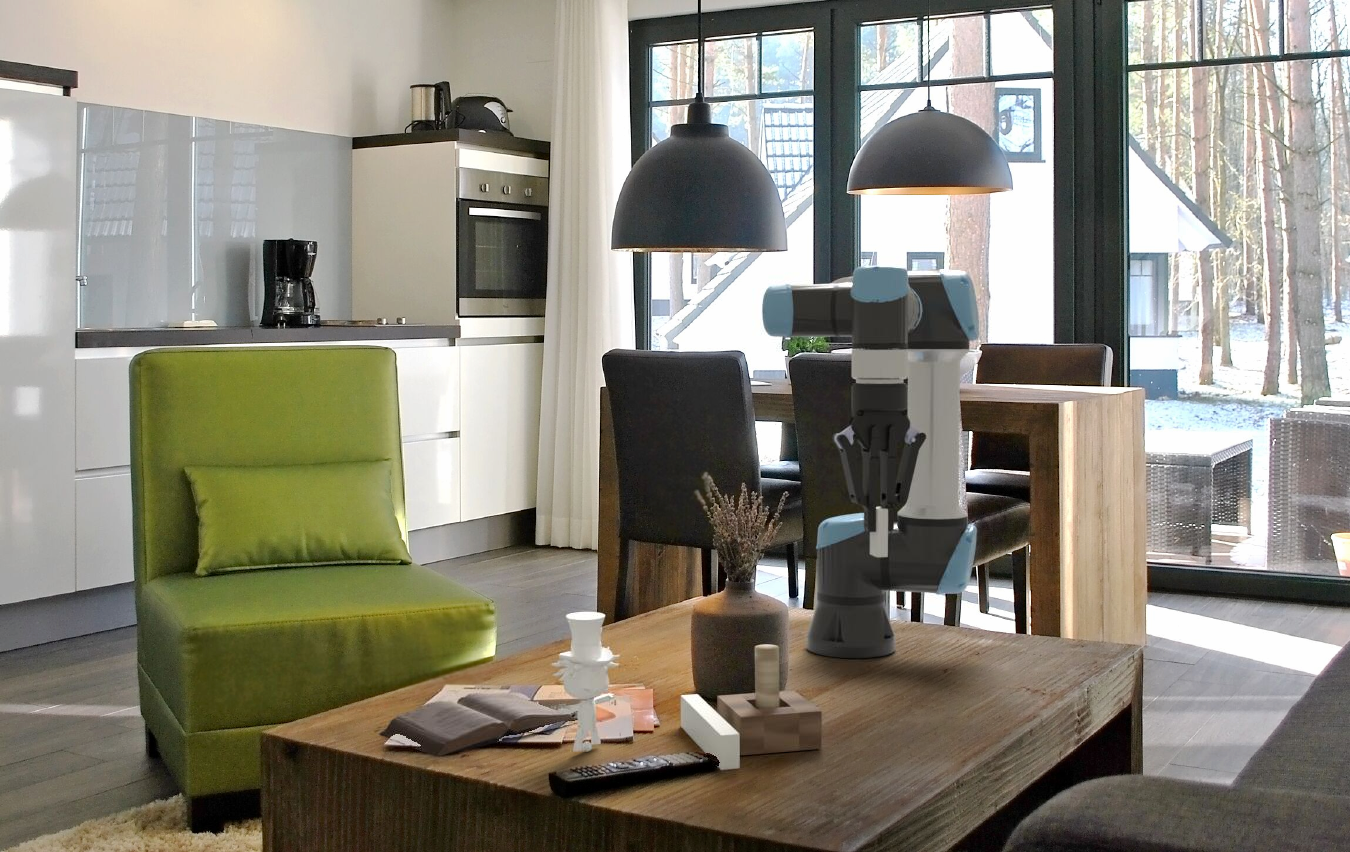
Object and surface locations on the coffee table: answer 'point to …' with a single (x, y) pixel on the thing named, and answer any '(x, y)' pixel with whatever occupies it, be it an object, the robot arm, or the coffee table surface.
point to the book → (471, 722)
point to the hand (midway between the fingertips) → (878, 555)
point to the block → (773, 723)
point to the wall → (710, 731)
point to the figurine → (586, 674)
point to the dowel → (767, 676)
